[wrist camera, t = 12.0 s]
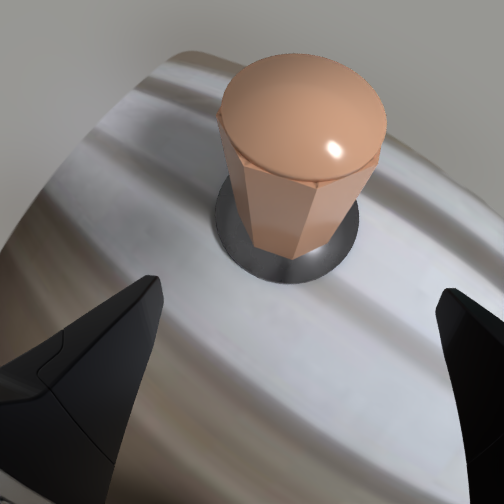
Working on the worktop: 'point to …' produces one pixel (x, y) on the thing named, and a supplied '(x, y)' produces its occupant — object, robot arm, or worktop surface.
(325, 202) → the tan rounded cylinder
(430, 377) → the worktop surface
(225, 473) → the worktop surface
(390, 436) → the worktop surface
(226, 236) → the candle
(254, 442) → the worktop surface
